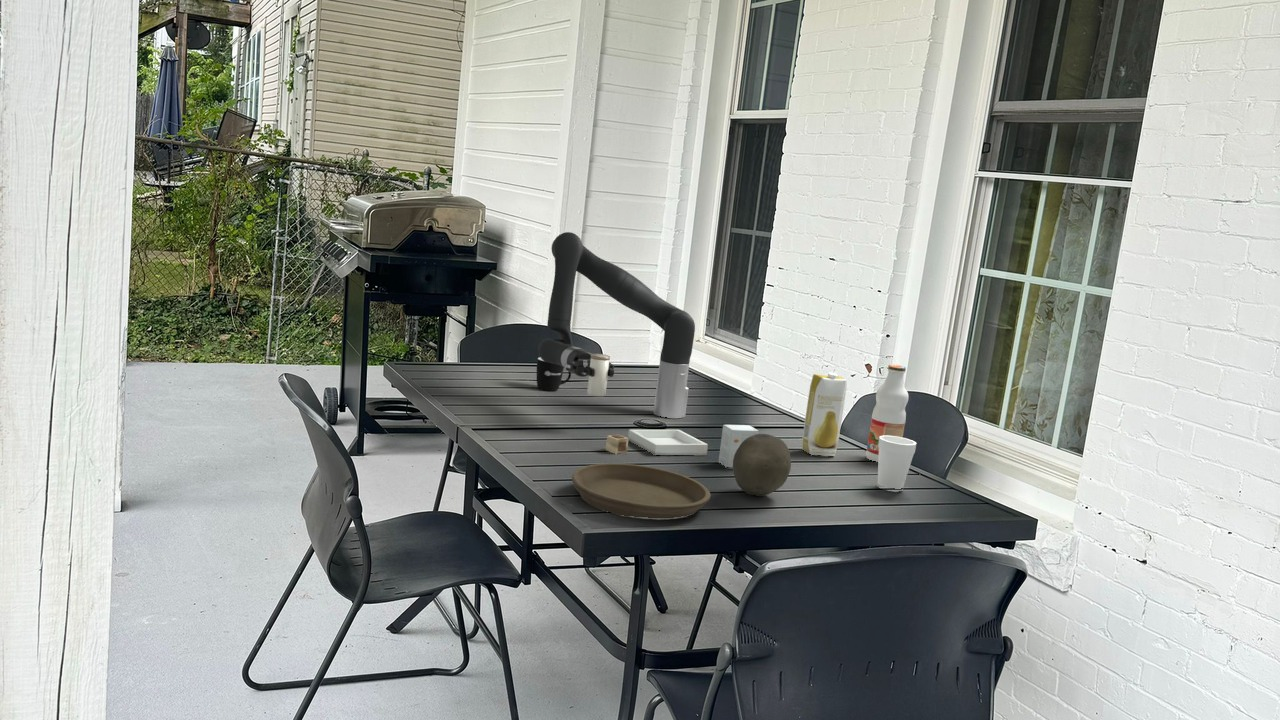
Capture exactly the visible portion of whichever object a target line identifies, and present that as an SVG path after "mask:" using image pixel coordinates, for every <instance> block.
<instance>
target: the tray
mask: <svg viewBox="0 0 1280 720" xmlns="http://www.w3.org/2000/svg"><path fill="white" fill-rule="evenodd" d="M627 435H628V436H627V438H629V439H628V442H630V443H632V444H633V443H634V444H633V445H635V444H636V445H635V446H637V445H638V446H637V447H639V448H640V447H641V448H640V449H642V448H643V449H642V450H644V449H645V450H647V451H648V452H647V451H646V452H647V453H649V452H651V453H652V454H654V455H694V456H707V455H708V454H707V453H708V446H709V444H708V443H706V442H704V441H701V440H700V439H698V438H696V437H694V436H692V435H691V434H689V433H687V432H684V431H683V430H681V429H628V434H627ZM645 450H644V451H645ZM651 453H650V454H651ZM652 454H651V455H652ZM654 455H653V456H654Z"/></svg>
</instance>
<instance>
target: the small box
mask: <svg viewBox="0 0 1280 720" xmlns="http://www.w3.org/2000/svg"><path fill="white" fill-rule="evenodd" d="M756 434H759V430H758V429H756V428H755V427H753V426H751V425H748V424H747V425H746V424H723V426H722V432H721V439H720V440H721V441H720V449H719V455H718V463H719V464H720V463H721V464H720V465H722V466H723V465H724V466H725V468H726V467H733V459H734V455H735V453H736V451H737V449H738V448H739V446H740V445H741V443H742V442H743V441H744V440H745V439H747V438H748V437H750V436H753V435H756ZM724 466H723V467H724Z"/></svg>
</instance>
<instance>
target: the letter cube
mask: <svg viewBox="0 0 1280 720" xmlns="http://www.w3.org/2000/svg"><path fill="white" fill-rule="evenodd" d="M628 439H629V438H628V437H626V436H623V435H622V434H621V435H620V434H612V435H611V434H609V435H607V437H606V444H605V451H606V452H610V453H612V454H614V453H615V455H618V454H617V453H621V454H627V453H628V446H629V441H628ZM626 452H627V453H626Z"/></svg>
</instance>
